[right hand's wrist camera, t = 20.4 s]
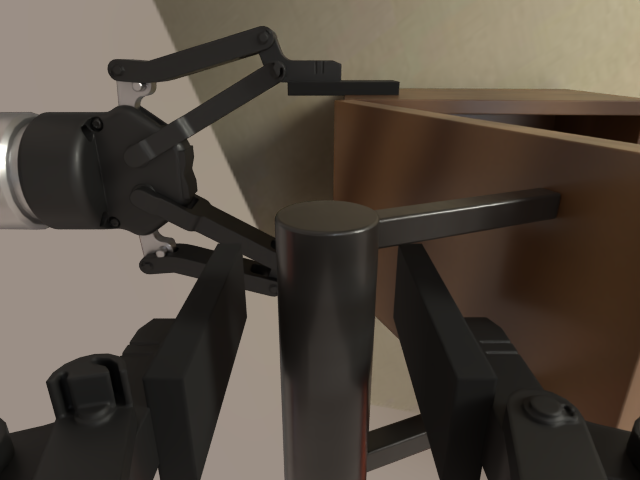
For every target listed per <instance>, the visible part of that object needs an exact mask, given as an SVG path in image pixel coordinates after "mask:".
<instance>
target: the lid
mask: <svg viewBox="0 0 640 480" xmlns="http://www.w3.org/2000/svg"><path fill="white" fill-rule="evenodd" d="M275 236H276V263H277V289H278V316H279V342H280V369H281V394H282V421H283V448H284V474H285V480H366V472H369V471H371V470H374V469H377V468H379V467H382V466H385V465H387V464H390V463H393V462H395V461H398V460H401V459H403V458H406V457H408V456H411V455H414V454H416V453H419V452H422V451H424V450H427V449H430V444H429V441H428V437H427V434H426V430H425V427H424V423H423V420H422V416H421V414H419V415H416V416H413V417H410V418H407V419H405V420H402V421H399V422H396V423H393V424H390V425H387V426H384V427H381V428H378V429H375V430H372V431H369V416H370V398H371V379H372V361H373V342H374V324H375V316H376V317H377V318H378V319H379V320H380V321H381V322H382V323H383V324H384V325H385V326H386V327H387V328H388V329H389V330H390V331H391V332H392V333H393V334H394V335H395V336H396V337H397V338H398V339H399V336H398V333H397V329H396V326H395V322H394V319H393V312H394V298H395V283H396V269H397V255H398V246H399V245H404V244H423V246H424V248H425V250H426V252H427V253H428V255H429V257H430V259H431V260H432V262H433V264H434V266H435V268H436V269H437V271H438V273H439V275H440V276H441V278H442V280H443V282H444V283H445V285H446V287H447V289H448V291H449V292H450V294H451V296H452V298H453V299H454V301H455V303H456V305H457V307H458V308H459V310H460V312H461V314H462V315H463V317H487V318H488V319H490V320H491V321H492V322H494V323H495V324H497V325H498V326H499V327H501V328H502V329H503V331H504V332H505V334H506V335H507V336H508V338H509V339H510V341H511V343H512V344H513V345H514V347H515V348H516V350H517V351H518V354H520V355H521V357H522V358H523V360H524V361H525V363H526V364H527V366H528V367H529V369H530V370H531V371H532V373H533V374H534V376H535V377H536V379H537V380H538V382H539V383H540V385H541V386H542V388H543V389H544V390H546V391H550V392H553V393H555V394H557V395H559V396H561V397H563V398H565V399H567V400H568V401H569V402H570V403H572V404H573V405H574V406H575V407H576V408H578V410H579V412H580V413H581V415H582V416H583V418H584V420H586V421H589V422H592V423H596V424H600V425H604V426H609V427H613V428H618V429H622V430H626V431H632V428H633V425H634V422H635V420H636V419H638V418H639V417H640V144H634V143H627V142H621V141H614V140H608V139H602V138H595V137H589V136H582V135H576V134H570V133H563V132H557V131H550V130H544V129H538V128H531V127H525V126H518V125H512V124H506V123H499V122H493V121H486V120H480V119H474V118H467V117H461V116H454V115H448V114H442V113H435V112H429V111H422V110H416V109H409V108H403V107H397V106H390V105H384V104H377V103H371V102H365V101H358V100H335V101H334V177H333V200H319V201H308V202H302V203H297V204H293V205H290V206H287V207H285V208H283V209H281V210H280V211H279V212H278V213H277V215H276V217H275Z"/></svg>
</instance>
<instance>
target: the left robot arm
mask: <svg viewBox="0 0 640 480" xmlns="http://www.w3.org/2000/svg"><path fill="white" fill-rule="evenodd" d="M256 54H259V55H260V57H261V60H262V63H263V65H264V66H263V67H261V68H260V69H258V70H257V71H255V72H253V73H252V74H250V75H248V76H247V77H245V78H244V79H242V80H240V81H239V82H237V83H235V84H234V85H232V86H231V87H229V88H227V89H226V90H224V91H223V92H221V93H219V94H218V95H216V96H214V97H213V98H211V99H210V100H208V101H206V102H205V103H203V104H201V105H200V106H198V107H197V108H195V109H193V110H192V111H190V112H188V113H187V114H185V115H184V116H182V117H180V118H178V119H176V120H175V121H173V122H171V123H170V124H167V123H165V122H164V121H162V120H161V119H159V118H158V117H156V116H155V115H153V114H152V113H150V112H149V111H147V110H146V109H144V108H143V107H141V106H140V102H141V99H142V98H143V97H145V96H147V95H151V94H153V93H154V92H155V90H156V82H163V81H170V80H174V79H177V78H181V77H184V76H187V75H191V74H194V73H197V72H200V71H204V70H207V69H210V68H214V67H217V66H220V65H223V64H227V63H230V62H233V61H237V60H240V59H243V58H246V57H250V56H253V55H256ZM108 73H109V75H110V76H111V78H113V79H114V80H116V81H117V91H118V103H119V106H117V107H115V108H114V109H112V110H111V111H109V112H46V113H42V114H40V115H38V114H35V113H32V112H0V229H46V228H49V227H51V228H54V229H125V230H128V231H130V232H132V233H134V234H137V235H139V237H140V242H141V246H142V250H143V254H144V258H143V259H142V260H141V261H140V263H139V267H140V269H141V271H142V272H144V273H146V274H159V273H178V274H182V275H186V276H190V277H195V278H199V276H200V275H201V273H202V271H203V269H204V268H205V266H206V264H207V262H208V260H209V259H210V257H211V255H212V253H213V252H214V250H209V249H206V248H202V247H198V246H194V245H189V244H176V243H175V240H174V239H173V238H168V237H164V236H162V235H161V234H160V233H159V232H158V229H159V228H160V227H162V226H163V225H164V224H166V223H167V222H168V221H169V222H171V223H173V224H175V225H177V226H179V227H181V228H183V229H185V230H187V231H196V232H198V233H200V234H202V235H204V236H206V237H208V238H211V239H212V240H214V241H216V242H218V243H220V244H242V254H243V255H245V256H247V257H249V258H251V259H253V260H249V259H246V258H243V269H244V283H245V290H248V291H252V292H256V293H260V294H265V295H268V296H278V289H277V263H276V238H274V237H272V236H270V235H268V234H266V233H264V232H263V231H261V230H259V229H257V228H255V227H253V226H251V225H249V224H247V223H245V222H243V221H241V220H239V219H237V218H235V217H233V216H231V215H229V214H227V213H225V212H223V211H222V210H220V209H218V208H216V207H214V206H212V205H211V204H210V203H209V202H208V201H207V200H206V199H204V198H202V197H200V196H198V195H196V194H195V193H196V192H197V182H196V178H195V175H194V172H193V170H192V166H193V160H194V152H193V146H190V144H189V142H188V140H187V138H189V137H191V136H192V135H194V134H196V133H197V132H199V131H200V130H202V129H204V128H205V127H207V126H209V125H210V124H212V123H214V122H215V121H217V120H219V119H220V118H222V117H224V116H225V115H227V114H229V113H230V112H232V111H234V110H235V109H237V108H238V107H240V106H242V105H243V104H245V103H247V102H248V101H250V100H252V99H253V98H255V97H257V96H258V95H260V94H262V93H263V92H265V91H267V90H268V89H270V88H272V87H273V86H275V85H277V84H278V83H280V82H288V95H321V96H345V95H399V83H400V82H397V81H393V80H341V64H340V63H337V62H335V61H293V60H289V59H287V58H286V57H285V56H284V55H283V53H282V51H281V48H280V45H279V42H278V40H277V36H276V34H275V33H274V32H273V31H272V30H271V29H269V28H268V27H265V26H260V27H257V28H253V29H250V30H247V31H244V32H240V33H237V34H234V35H231V36H228V37H224V38H221V39H218V40H215V41H211V42H208V43H205V44H202V45H199V46H195V47H192V48H189V49H186V50H182V51H179V52H176V53H173V54H170V55H167V56H163V57H160V58H157V59H154V60H150V61H144V60H129V59H115V60H112V61H111V62H110V63H109V64H108ZM254 260H255V261H254Z"/></svg>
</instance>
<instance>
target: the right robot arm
mask: <svg viewBox="0 0 640 480" xmlns="http://www.w3.org/2000/svg"><path fill="white" fill-rule="evenodd" d="M246 319H247V312H246V298H245V283H244V269H243V255H242V244H217V246H216V248H215V250H214V252H213V253H212V255H211V257H210V259H209V260H208V262H207V264H206V266H205V268H204V269H203V271H202V273H201V275H200V276H199V278H198V280H197V282H196V283H195V285H194V287H193V289H192V291H191V292H190V294H189V296H188V298H187V300H186V301H185V303H184V305H183V307H182V309H181V310H180V312H179V314H178V315H177V317H176V319H153V320H151V321H150V322H148V323H147V324H146V325H144V326H143V327H141V328H140V329H139V330H138V331H137V332H136V334H135V335H134V337H133V338H132V340H131V341H130V345H128V346H127V347H126V349H125V350H124V352H123V354H122V356H120V357H119V356H116V355H112V354H93V355H89V356H84V357H80V358H78V359H75V360H73V361H71V362H69V363H66V364H64V365H63V366H62V367H60V368H59V369H57V370H56V371H55V372H53V373H52V375H51V376H50V377H49V379H48V380H47V381H46V384H47V388H48V391H49V395H50V399H51V402H52V406H53V409H54V413H55V416H56V420H55V422H54V423H51V424H47V425H44V426H40V427H35V428H31V429H26V430H22V431H18V432H13V433H9V431H8V428H7V425H6V422H4V421H3V420H2V419H1V418H0V480H153V478H154V476H155V473H156V471H157V468H158V470H159V475H160V480H200V479H201V475H202V472H203V468H204V465H205V461H206V458H207V454H208V451H209V448H210V444H211V441H212V437H213V433H214V430H215V427H216V423H217V420H218V416H219V413H220V409H221V406H222V402H223V399H224V395H225V392H226V388H227V385H228V381H229V378H230V374H231V371H232V367H233V364H234V360H235V357H236V353H237V350H238V347H239V343H240V340H241V336H242V333H243V329H244V326H245V322H246ZM393 319H394V322H395V326H396V329H397V333H398V336H399V340H400V343H401V347H402V350H403V353H404V357H405V360H406V364H407V367H408V371H409V374H410V378H411V381H412V385H413V388H414V392H415V395H416V399H417V402H418V406H419V409H420V413H421V416H422V420H423V423H424V427H425V430H426V434H427V437H428V441H429V444H430V448H431V451H432V454H433V458H434V461H435V465H436V468H437V472H438V475H439V479H440V480H480V476H481V470H482V466H483V469H484V471H485V474H486V476H487V479H488V480H640V417H639V418H638V419H636V420H635V422H634V425H633V428H632V431H626V430H622V429H618V428H613V427H609V426H604V425H600V424H596V423H592V422H589V421H586V420H584V418H583V416H582V415H581V413H580V412H579V410H578V408H576V407H575V406H574V405H573V404H572V403H570V402H569V401H568V400H567V399H565V398H563V397H561V396H559V395H557V394H555V393H553V392H550V391H546V390H544V389H543V388H542V386H541V385H540V383H539V382H538V380H537V379H536V377H535V376H534V374H533V373H532V371H531V370H530V369H529V367H528V366H527V364H526V363H525V361H524V360H523V358H522V357H521V355H520V354H518V351H517V350H516V348H515V347H514V345H513V344H512V343H511V341H510V339H509V338H508V336H507V335H506V334H505V332H504V331H503V329H502V328H501V327H499V326H498V325H497V324H495V323H494V322H492V321H491V320H490V319H488V318H487V317H463V315H462V314H461V312H460V310H459V308H458V307H457V305H456V303H455V301H454V299H453V298H452V296H451V294H450V292H449V291H448V289H447V287H446V285H445V283H444V282H443V280H442V278H441V276H440V275H439V273H438V271H437V269H436V268H435V266H434V264H433V262H432V260H431V259H430V257H429V255H428V253H427V252H426V250H425V248H424V246H423V244H404V245H399V246H398V255H397V269H396V283H395V298H394V312H393Z"/></svg>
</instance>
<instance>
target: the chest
mask: <svg viewBox="0 0 640 480" xmlns="http://www.w3.org/2000/svg"><path fill="white" fill-rule="evenodd" d="M344 100H358V101H365V102H371V103H377V104H384V105H390V106H397V107H403V108H409V109H416V110H422V111H429V112H435V113H442V114H448V115H454V116H461V117H467V118H474V119H480V120H486V121H493V122H499V123H506V124H512V125H518V126H525V127H531V128H538V129H544V130H550V131H557V132H563V133H570V134H576V135H582V136H589V137H595V138H602V139H608V140H614V141H621V142H627V143H634V144H640V98H634V97H626V96H617V95H609V94H601V93H593V92H584V91H576V90H568V89H399V95H345V96H344Z"/></svg>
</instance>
